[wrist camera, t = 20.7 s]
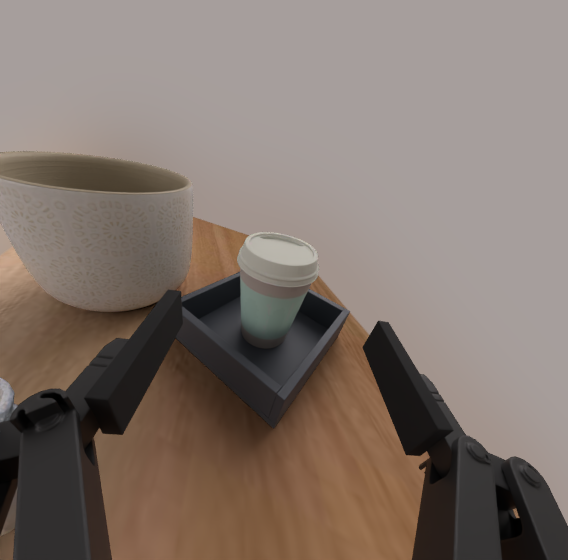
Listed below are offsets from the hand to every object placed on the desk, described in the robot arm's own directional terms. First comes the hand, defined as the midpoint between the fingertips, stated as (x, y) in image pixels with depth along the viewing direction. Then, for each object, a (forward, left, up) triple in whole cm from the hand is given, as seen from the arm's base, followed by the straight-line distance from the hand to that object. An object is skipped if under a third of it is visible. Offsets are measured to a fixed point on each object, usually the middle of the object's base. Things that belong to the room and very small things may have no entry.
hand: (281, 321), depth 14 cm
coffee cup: (+6, -7, -11) cm, 14 cm away
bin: (+5, -7, -11) cm, 15 cm away
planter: (+24, 0, -12) cm, 27 cm away
